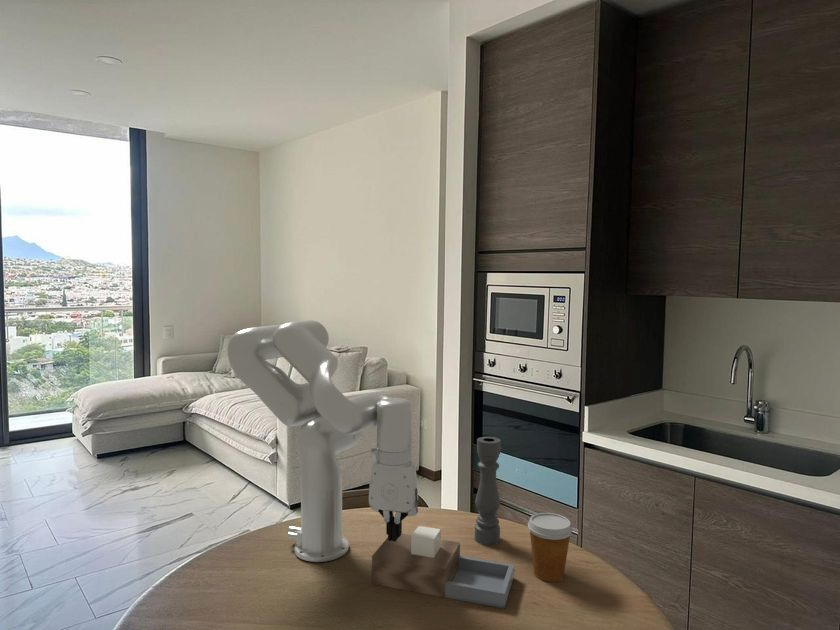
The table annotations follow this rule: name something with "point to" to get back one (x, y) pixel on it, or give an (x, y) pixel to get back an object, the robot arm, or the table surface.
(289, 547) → the table surface
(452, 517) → the table surface
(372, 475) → the robot arm
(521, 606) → the table surface
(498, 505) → the candle holder
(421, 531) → the white block
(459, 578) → the box
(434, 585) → the brown wooden box
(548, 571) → the disposable coffee cup
